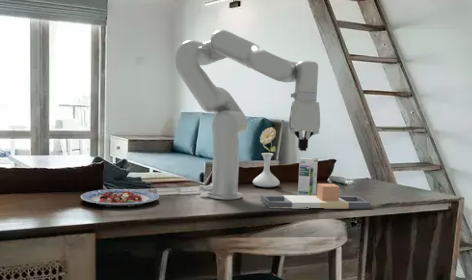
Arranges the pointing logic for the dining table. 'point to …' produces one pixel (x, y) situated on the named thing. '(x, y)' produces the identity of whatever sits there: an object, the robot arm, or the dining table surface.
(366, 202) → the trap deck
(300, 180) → the syrup box
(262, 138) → the flower in vase
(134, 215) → the dining table surface
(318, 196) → the terracotta block
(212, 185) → the robot arm
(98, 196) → the ceramic plate
